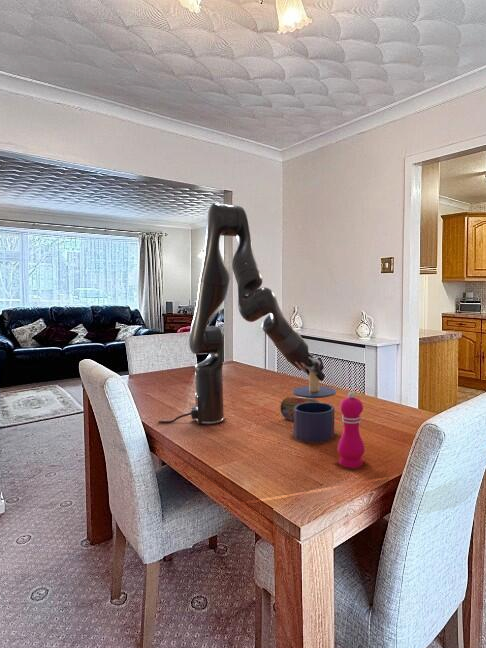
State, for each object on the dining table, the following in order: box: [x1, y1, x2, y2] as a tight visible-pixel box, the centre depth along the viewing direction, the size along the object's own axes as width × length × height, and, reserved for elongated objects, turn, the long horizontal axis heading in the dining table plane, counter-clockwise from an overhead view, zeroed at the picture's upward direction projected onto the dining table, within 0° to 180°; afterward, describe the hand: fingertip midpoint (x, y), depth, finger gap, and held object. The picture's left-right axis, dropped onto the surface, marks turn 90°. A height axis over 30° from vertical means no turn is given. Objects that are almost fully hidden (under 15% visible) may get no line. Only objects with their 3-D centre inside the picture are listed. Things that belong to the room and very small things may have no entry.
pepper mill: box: [337, 391, 366, 469], centre depth 121 cm, size 7×7×20 cm
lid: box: [291, 367, 337, 399], centre depth 142 cm, size 14×14×10 cm
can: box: [293, 401, 335, 443], centre depth 144 cm, size 13×13×9 cm
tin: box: [279, 395, 320, 422], centre depth 160 cm, size 15×3×8 cm, turn 68°
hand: (318, 377), depth 143 cm, fingers closed on lid, 3 cm apart
